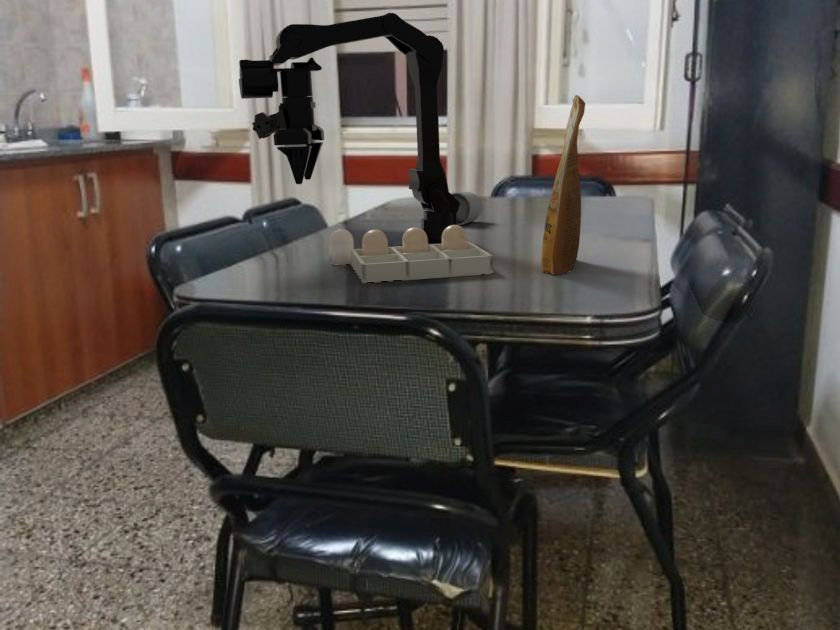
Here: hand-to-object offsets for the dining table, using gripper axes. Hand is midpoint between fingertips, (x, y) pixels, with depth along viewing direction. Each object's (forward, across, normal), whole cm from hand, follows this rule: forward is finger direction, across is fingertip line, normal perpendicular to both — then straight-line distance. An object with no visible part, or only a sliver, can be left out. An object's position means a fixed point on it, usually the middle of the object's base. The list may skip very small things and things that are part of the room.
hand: (303, 181), depth 150 cm
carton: (+14, +20, +23) cm, 33 cm away
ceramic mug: (+14, -35, +29) cm, 48 cm away
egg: (+14, +12, +8) cm, 20 cm away
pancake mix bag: (+14, +19, +47) cm, 53 cm away
